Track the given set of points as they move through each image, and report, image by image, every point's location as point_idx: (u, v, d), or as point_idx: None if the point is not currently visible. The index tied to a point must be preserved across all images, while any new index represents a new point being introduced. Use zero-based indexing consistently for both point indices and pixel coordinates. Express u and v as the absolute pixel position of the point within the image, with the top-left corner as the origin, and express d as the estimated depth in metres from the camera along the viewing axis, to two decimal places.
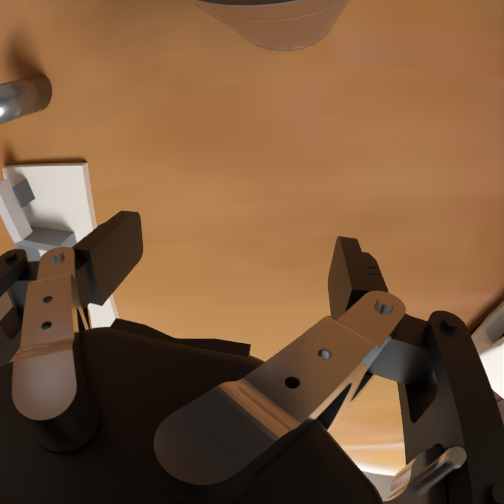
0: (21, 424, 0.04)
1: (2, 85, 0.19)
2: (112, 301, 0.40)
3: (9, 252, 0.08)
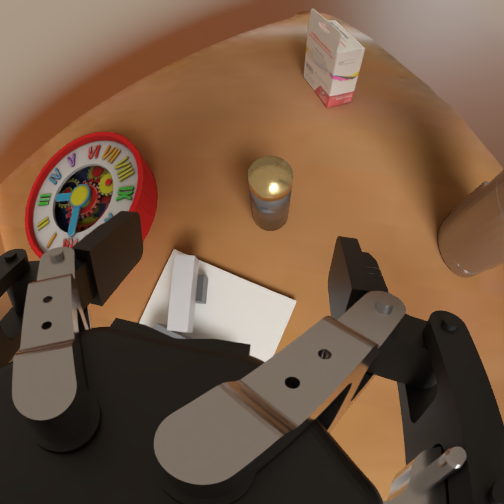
0: (21, 424, 0.04)
1: None
2: None
3: (9, 252, 0.08)
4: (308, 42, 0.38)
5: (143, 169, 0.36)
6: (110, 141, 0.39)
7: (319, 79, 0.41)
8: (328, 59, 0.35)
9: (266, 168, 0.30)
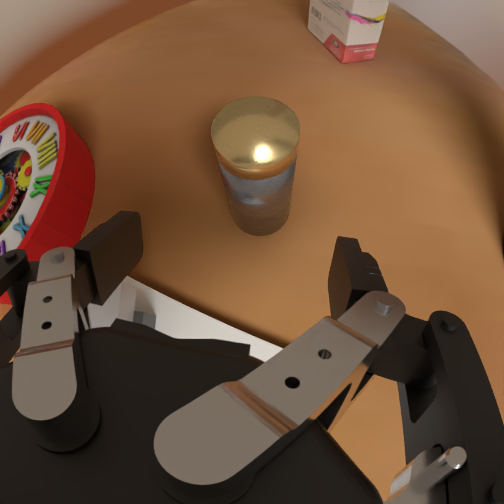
0: (21, 424, 0.04)
1: None
2: None
3: (9, 252, 0.08)
4: None
5: (67, 148, 0.21)
6: (40, 115, 0.24)
7: (330, 25, 0.26)
8: None
9: (247, 116, 0.15)
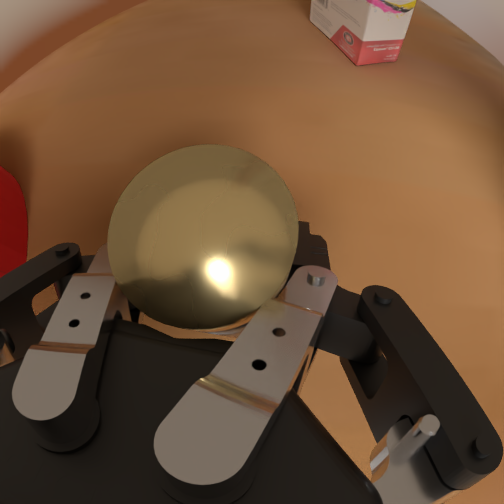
0: (21, 424, 0.04)
1: None
2: None
3: (61, 245, 0.08)
4: None
5: None
6: None
7: (341, 13, 0.18)
8: None
9: (183, 198, 0.07)
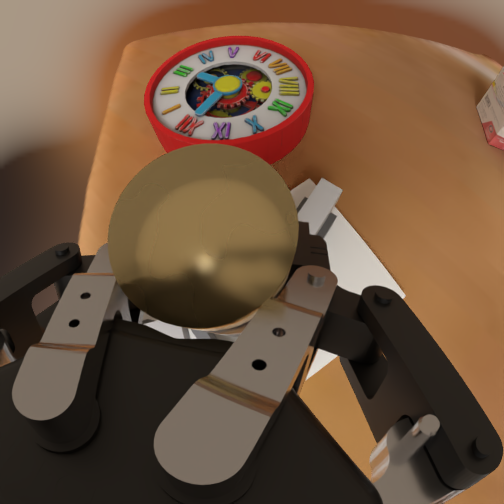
0: (21, 424, 0.04)
1: None
2: None
3: (61, 245, 0.08)
4: (498, 78, 0.29)
5: (312, 96, 0.31)
6: (283, 56, 0.34)
7: (493, 115, 0.32)
8: None
9: (183, 197, 0.07)
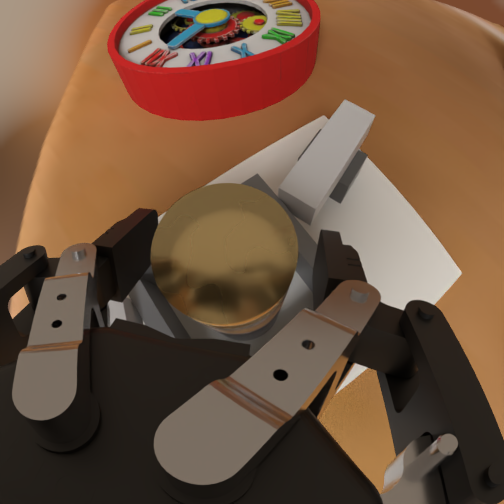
0: (21, 424, 0.04)
1: None
2: None
3: (28, 248, 0.08)
4: None
5: (319, 24, 0.21)
6: None
7: None
8: None
9: (210, 226, 0.09)
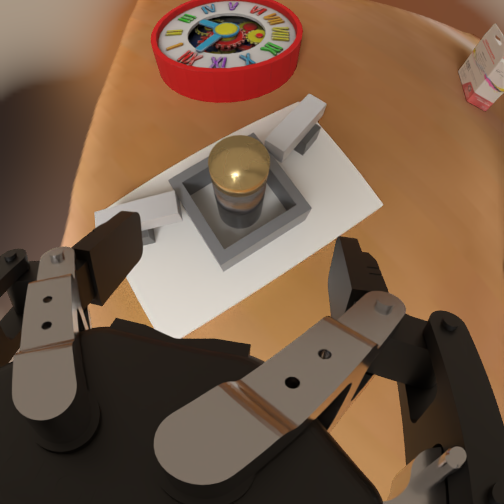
0: (21, 424, 0.04)
1: None
2: None
3: (9, 252, 0.08)
4: (478, 46, 0.31)
5: (300, 41, 0.32)
6: (277, 11, 0.34)
7: (472, 76, 0.34)
8: (489, 64, 0.29)
9: (233, 152, 0.21)
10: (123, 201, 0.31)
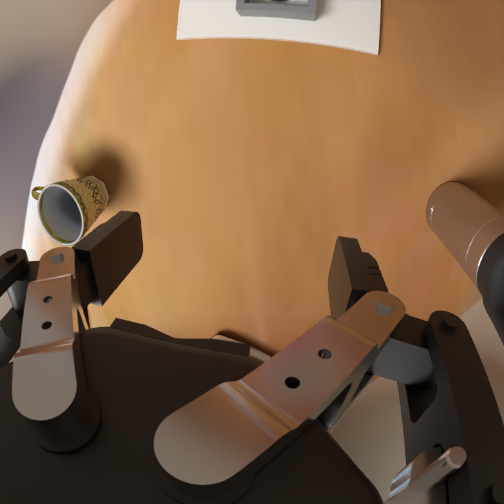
0: (21, 424, 0.04)
1: None
2: (228, 37, 0.34)
3: (9, 252, 0.08)
4: None
5: None
6: None
7: None
8: None
9: None
10: None
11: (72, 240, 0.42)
